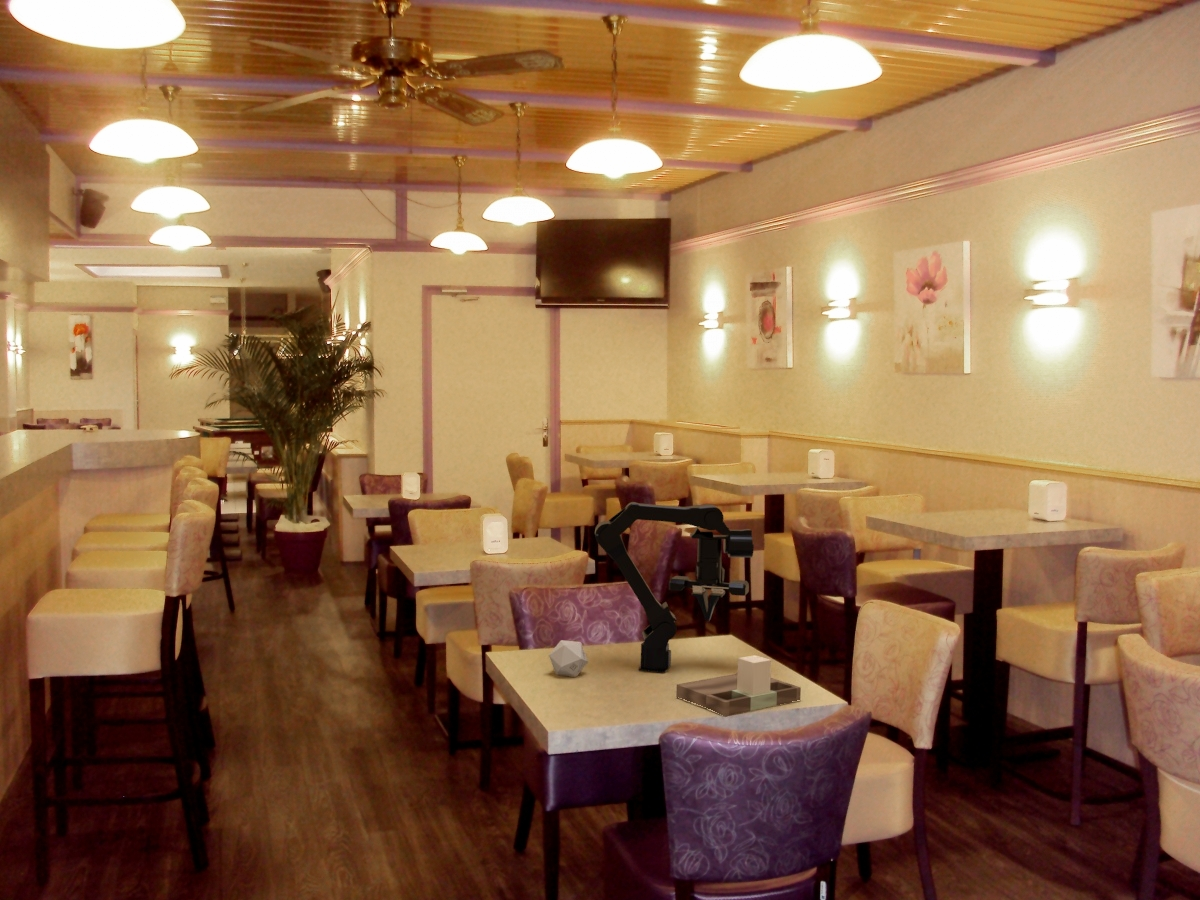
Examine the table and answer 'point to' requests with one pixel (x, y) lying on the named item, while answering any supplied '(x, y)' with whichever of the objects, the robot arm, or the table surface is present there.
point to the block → (754, 675)
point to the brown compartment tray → (735, 695)
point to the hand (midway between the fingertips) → (707, 620)
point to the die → (568, 658)
